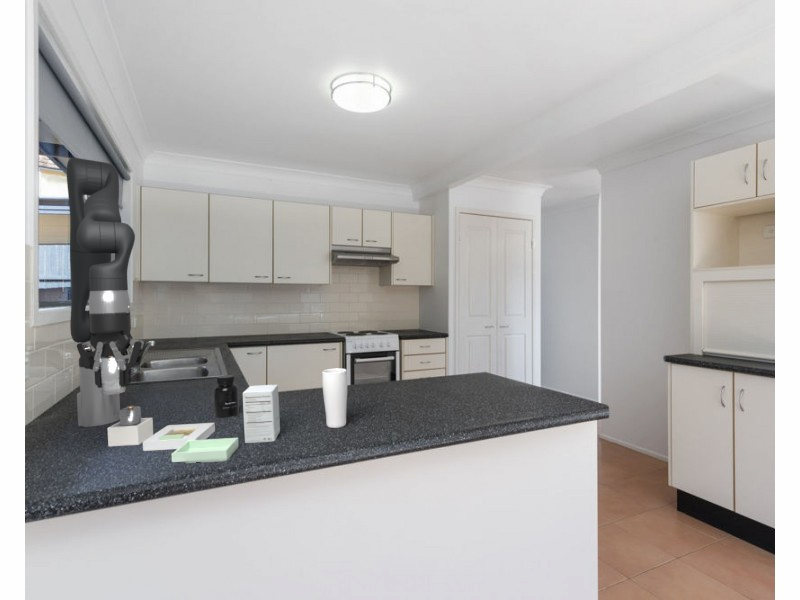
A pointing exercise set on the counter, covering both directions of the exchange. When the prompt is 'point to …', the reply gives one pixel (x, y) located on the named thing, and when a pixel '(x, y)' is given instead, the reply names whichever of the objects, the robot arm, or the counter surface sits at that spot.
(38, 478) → the counter surface
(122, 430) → the white open box sleeve
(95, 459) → the counter surface
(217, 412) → the supplement bottle
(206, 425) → the frame
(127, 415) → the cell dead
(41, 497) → the counter surface
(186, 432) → the contact plate
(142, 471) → the counter surface
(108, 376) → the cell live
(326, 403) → the drinking glass
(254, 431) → the supplement box
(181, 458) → the trough
